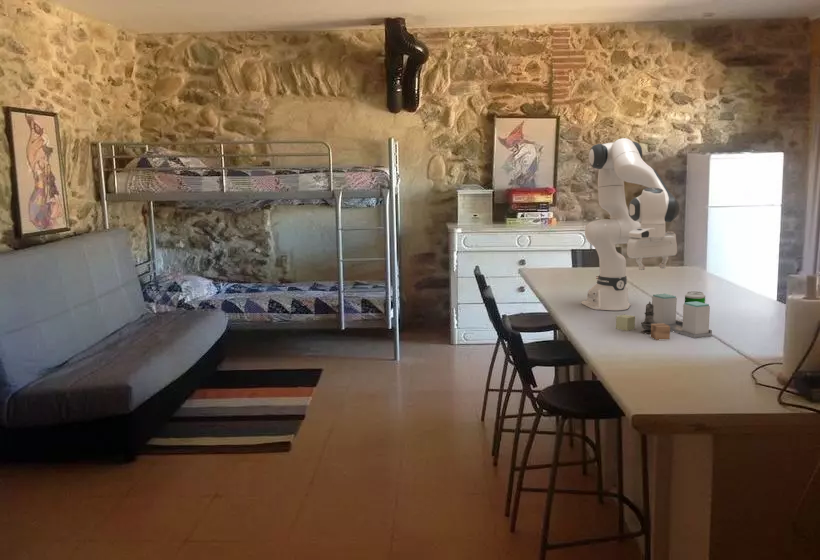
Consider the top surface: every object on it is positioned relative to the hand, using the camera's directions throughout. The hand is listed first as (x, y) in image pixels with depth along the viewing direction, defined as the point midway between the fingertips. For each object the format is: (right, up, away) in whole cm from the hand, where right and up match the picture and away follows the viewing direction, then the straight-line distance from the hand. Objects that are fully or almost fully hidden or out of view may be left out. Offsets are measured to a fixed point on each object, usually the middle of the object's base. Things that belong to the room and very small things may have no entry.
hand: (652, 269), depth 281 cm
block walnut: (+1, -25, -6) cm, 26 cm away
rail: (+12, -23, +6) cm, 27 cm away
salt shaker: (0, -24, +3) cm, 24 cm away
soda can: (+23, -21, +19) cm, 36 cm away
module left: (+9, -21, +15) cm, 27 cm away
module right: (+15, -23, -2) cm, 28 cm away
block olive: (-7, -23, +10) cm, 26 cm away
